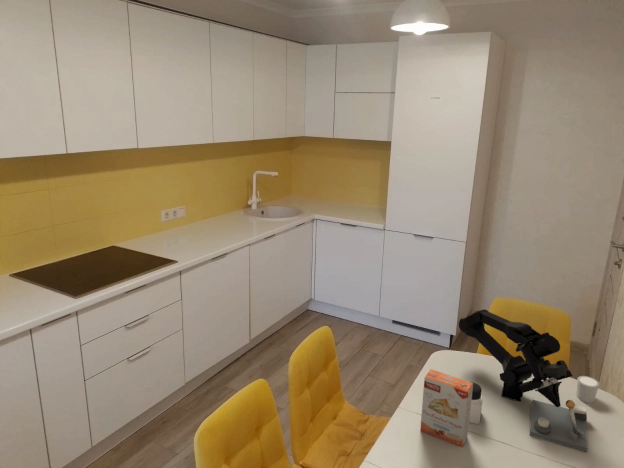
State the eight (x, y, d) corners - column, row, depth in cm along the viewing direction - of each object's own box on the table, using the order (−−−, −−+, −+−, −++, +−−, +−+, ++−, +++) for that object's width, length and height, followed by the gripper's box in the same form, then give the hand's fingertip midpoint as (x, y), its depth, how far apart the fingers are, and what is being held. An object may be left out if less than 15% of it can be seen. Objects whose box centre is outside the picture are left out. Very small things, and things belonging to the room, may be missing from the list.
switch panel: (529, 435, 147) (530, 427, 146) (532, 403, 162) (533, 395, 161) (587, 452, 140) (589, 444, 139) (584, 417, 155) (586, 409, 154)
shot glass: (599, 404, 161) (602, 388, 159) (578, 402, 162) (581, 385, 160) (591, 392, 167) (595, 376, 165) (571, 390, 169) (574, 374, 167)
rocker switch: (572, 412, 152) (572, 409, 152) (572, 408, 154) (572, 405, 154) (586, 414, 150) (586, 411, 150) (585, 410, 152) (585, 407, 152)
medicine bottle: (481, 412, 158) (484, 382, 154) (479, 425, 152) (482, 394, 148) (459, 406, 161) (462, 377, 157) (456, 419, 155) (460, 389, 151)
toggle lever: (569, 432, 145) (563, 400, 145) (574, 430, 146) (568, 398, 146) (576, 435, 142) (570, 402, 143) (582, 432, 143) (576, 400, 144)
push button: (537, 425, 146) (538, 422, 146) (537, 419, 149) (538, 416, 149) (548, 429, 145) (549, 425, 144) (548, 422, 148) (549, 419, 147)
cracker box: (419, 431, 149) (423, 376, 143) (426, 420, 154) (430, 367, 148) (462, 448, 142) (468, 392, 135) (467, 437, 146) (474, 381, 140)
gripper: (531, 360, 145) (556, 410, 138) (572, 347, 152) (597, 394, 145) (509, 369, 154) (531, 416, 148) (548, 356, 161) (571, 400, 155)
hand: (558, 406), depth 149 cm, fingers closed
